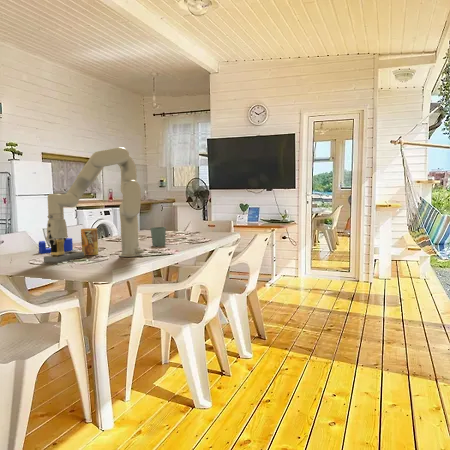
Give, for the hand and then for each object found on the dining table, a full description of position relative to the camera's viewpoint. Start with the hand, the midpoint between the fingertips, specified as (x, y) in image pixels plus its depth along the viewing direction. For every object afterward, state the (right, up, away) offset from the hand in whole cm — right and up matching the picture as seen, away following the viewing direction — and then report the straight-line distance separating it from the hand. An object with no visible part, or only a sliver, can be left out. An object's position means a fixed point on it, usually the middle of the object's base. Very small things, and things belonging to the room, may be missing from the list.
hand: (57, 251), depth 215 cm
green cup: (+44, 0, +56) cm, 72 cm away
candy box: (+11, -4, +21) cm, 23 cm away
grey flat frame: (+2, -5, +5) cm, 7 cm away
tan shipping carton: (0, -2, 0) cm, 2 cm away
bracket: (-16, -3, +36) cm, 40 cm away
